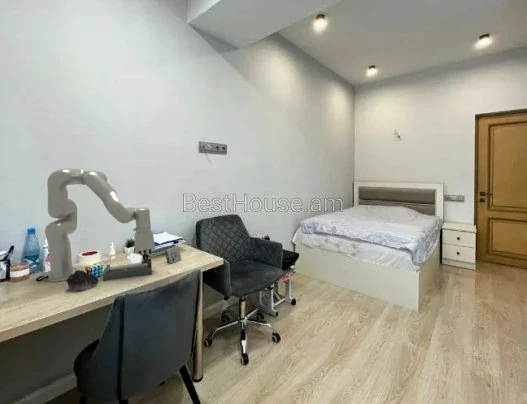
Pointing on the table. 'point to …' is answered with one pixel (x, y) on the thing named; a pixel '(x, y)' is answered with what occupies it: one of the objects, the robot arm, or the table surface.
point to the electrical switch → (173, 255)
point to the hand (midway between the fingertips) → (145, 260)
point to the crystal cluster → (81, 281)
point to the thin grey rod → (128, 265)
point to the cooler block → (127, 272)
